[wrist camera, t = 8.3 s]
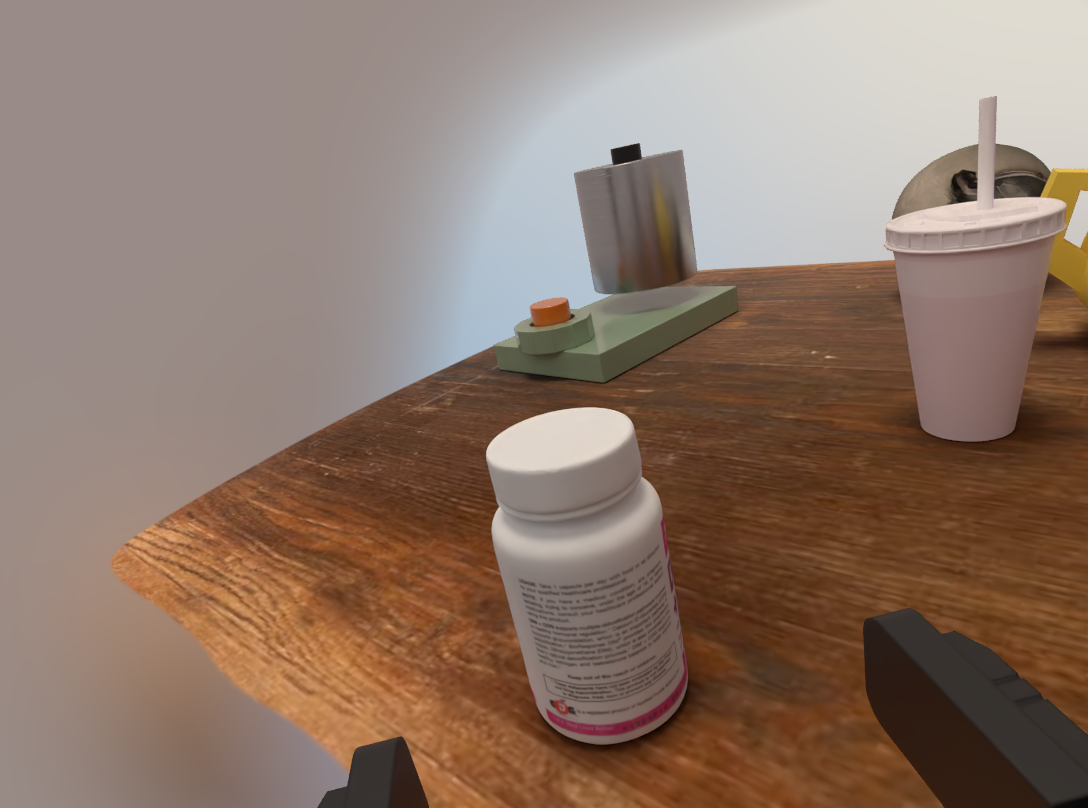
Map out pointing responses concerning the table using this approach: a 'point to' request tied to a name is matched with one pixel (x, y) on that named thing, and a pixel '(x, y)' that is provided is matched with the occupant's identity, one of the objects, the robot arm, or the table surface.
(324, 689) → the table surface
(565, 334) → the base
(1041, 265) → the smoothie
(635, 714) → the pill bottle
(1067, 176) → the teapot
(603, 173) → the kettle
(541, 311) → the orange push button
